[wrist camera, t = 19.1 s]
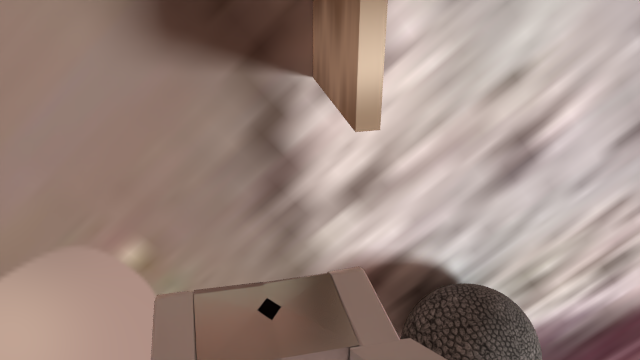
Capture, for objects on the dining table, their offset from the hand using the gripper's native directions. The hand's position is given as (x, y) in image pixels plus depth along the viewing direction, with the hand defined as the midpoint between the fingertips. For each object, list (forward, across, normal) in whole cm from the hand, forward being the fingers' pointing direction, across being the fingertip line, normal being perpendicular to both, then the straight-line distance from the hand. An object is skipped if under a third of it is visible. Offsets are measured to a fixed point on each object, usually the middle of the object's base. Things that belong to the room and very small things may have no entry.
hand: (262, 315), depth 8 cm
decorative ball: (+25, -17, +24) cm, 39 cm away
